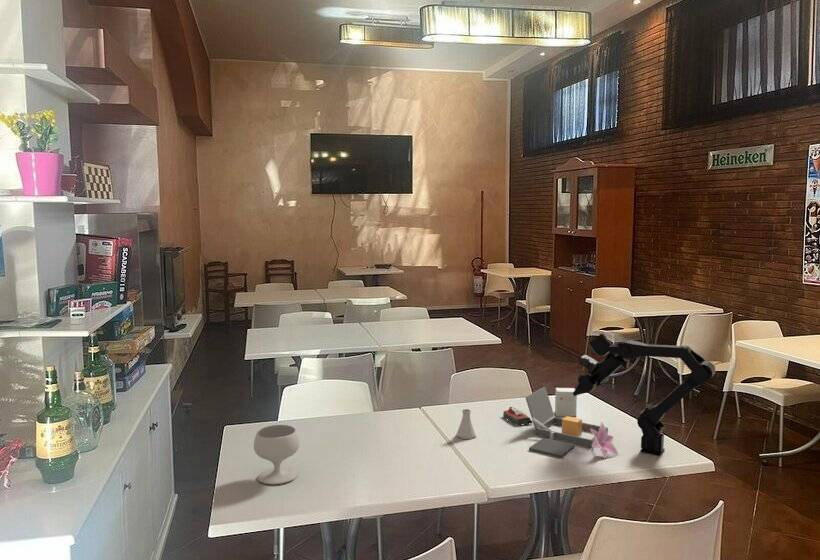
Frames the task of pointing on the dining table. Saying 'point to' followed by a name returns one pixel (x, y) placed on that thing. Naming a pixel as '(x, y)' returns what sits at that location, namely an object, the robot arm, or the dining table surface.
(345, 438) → the dining table surface
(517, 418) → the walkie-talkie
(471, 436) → the flask
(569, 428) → the block
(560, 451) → the rubber mat
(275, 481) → the chalice
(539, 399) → the case
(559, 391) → the small box
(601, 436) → the lily
